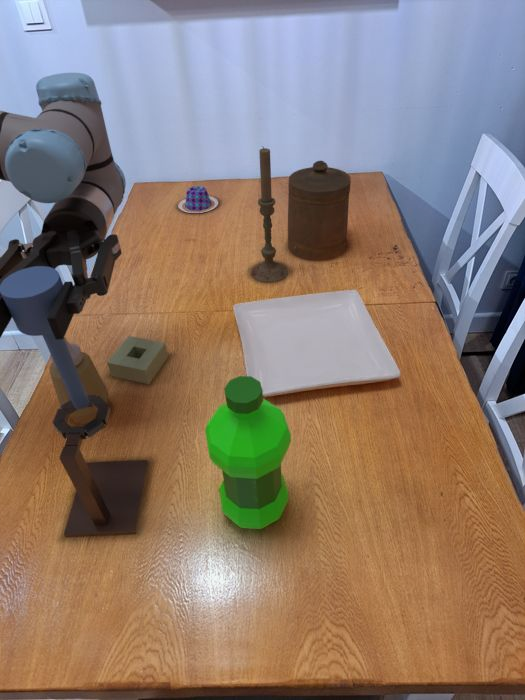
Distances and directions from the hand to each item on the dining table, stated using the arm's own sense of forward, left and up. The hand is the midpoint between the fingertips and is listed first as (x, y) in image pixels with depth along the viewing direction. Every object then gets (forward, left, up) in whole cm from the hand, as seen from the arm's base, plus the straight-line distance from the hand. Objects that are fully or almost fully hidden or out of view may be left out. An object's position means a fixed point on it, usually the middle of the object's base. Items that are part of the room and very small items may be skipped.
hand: (21, 330), depth 49 cm
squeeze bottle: (-14, +16, -35) cm, 40 cm away
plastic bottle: (+21, +7, -35) cm, 41 cm away
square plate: (+20, +43, -35) cm, 58 cm away
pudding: (-28, +97, -35) cm, 107 cm away
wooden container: (+12, +82, -35) cm, 90 cm away
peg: (-2, +5, -17) cm, 17 cm away
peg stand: (0, +1, -34) cm, 34 cm away
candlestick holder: (+4, +67, -35) cm, 75 cm away
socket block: (-10, +29, -34) cm, 46 cm away
